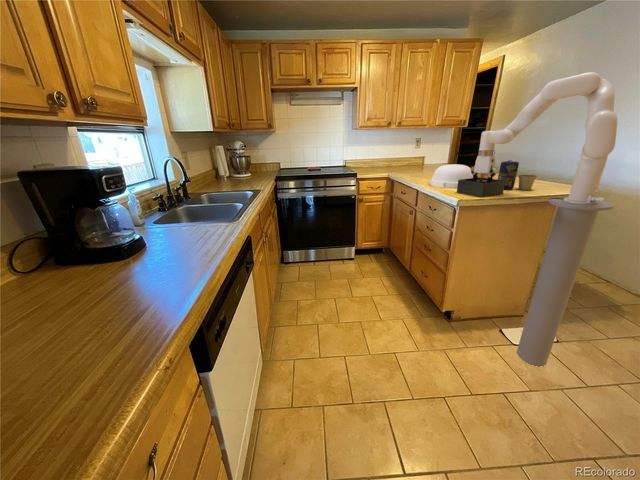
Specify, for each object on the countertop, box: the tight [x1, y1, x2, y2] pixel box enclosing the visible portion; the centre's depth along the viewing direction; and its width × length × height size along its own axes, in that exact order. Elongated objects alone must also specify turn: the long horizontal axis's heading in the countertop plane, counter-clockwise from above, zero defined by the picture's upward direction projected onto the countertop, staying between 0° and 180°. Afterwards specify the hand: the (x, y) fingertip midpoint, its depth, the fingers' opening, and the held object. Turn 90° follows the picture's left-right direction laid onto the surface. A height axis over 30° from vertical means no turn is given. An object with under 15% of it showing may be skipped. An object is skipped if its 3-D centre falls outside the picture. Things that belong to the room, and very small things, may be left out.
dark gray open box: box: [456, 177, 505, 198], centre depth 162 cm, size 18×18×8 cm
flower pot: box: [517, 174, 538, 191], centre depth 166 cm, size 9×9×9 cm
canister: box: [497, 159, 520, 190], centre depth 169 cm, size 10×10×18 cm
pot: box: [475, 179, 487, 183], centre depth 161 cm, size 7×7×7 cm
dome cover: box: [429, 163, 473, 189], centre depth 192 cm, size 32×30×14 cm
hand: (481, 183), depth 161 cm, fingers open, 9 cm apart
